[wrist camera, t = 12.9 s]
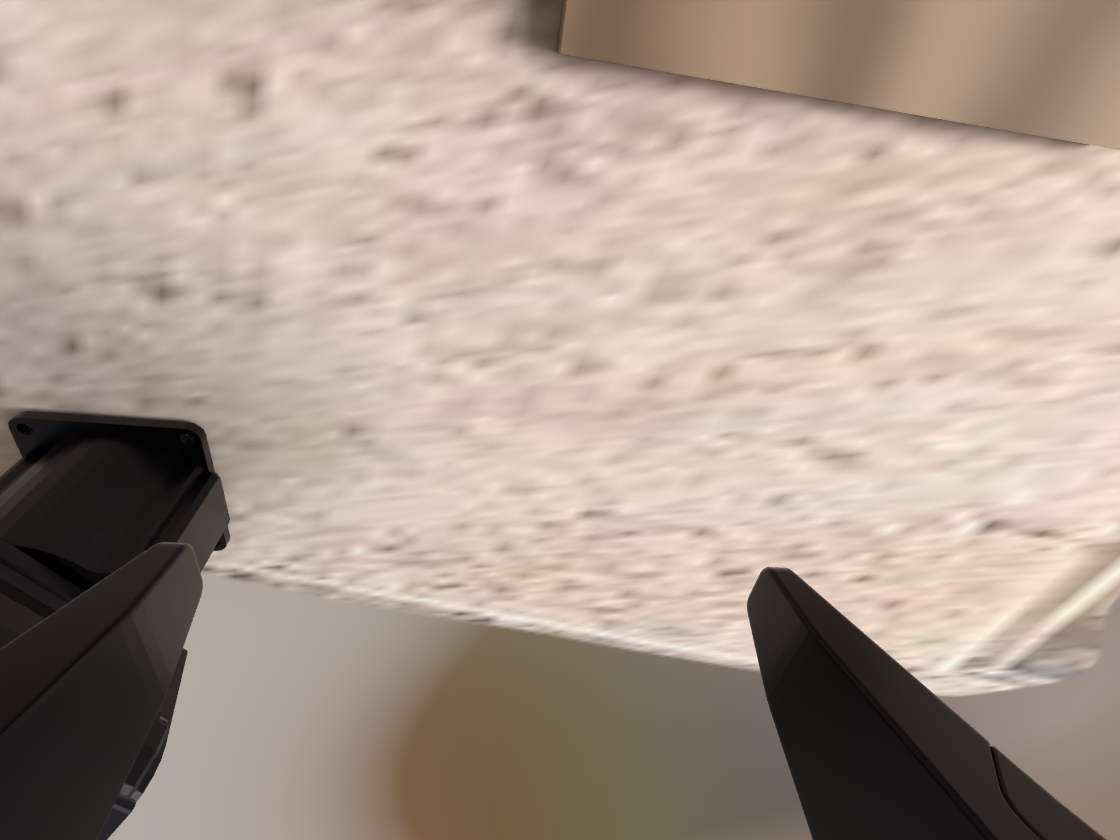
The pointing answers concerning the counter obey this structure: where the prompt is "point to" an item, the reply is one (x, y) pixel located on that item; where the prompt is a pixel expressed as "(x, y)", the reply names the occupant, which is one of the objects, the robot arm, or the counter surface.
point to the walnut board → (884, 54)
